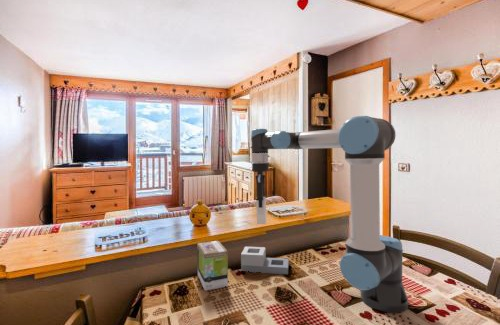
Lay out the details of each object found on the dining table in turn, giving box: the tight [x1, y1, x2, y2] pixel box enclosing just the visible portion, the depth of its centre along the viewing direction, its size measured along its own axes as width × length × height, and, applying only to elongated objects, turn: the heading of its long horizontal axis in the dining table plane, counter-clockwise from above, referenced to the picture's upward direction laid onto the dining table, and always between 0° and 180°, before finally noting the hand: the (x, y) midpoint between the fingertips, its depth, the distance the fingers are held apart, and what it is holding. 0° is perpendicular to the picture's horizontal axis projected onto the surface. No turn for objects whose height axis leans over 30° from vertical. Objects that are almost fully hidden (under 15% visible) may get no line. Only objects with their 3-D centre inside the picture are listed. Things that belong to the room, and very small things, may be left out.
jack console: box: [240, 246, 290, 275], centre depth 124 cm, size 10×21×8 cm, turn 80°
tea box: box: [196, 240, 229, 291], centre depth 112 cm, size 15×10×15 cm, turn 22°
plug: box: [254, 196, 267, 225], centre depth 123 cm, size 4×5×12 cm
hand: (261, 213), depth 123 cm, fingers closed on plug, 4 cm apart
